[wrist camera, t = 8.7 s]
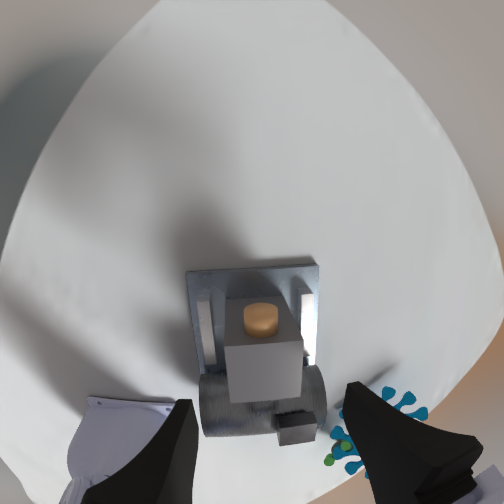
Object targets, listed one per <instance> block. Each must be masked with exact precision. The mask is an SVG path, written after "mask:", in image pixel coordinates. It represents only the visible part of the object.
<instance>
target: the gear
mask: <svg viewBox="0 0 504 504" xmlns="http://www.w3.org/2000/svg"><path fill="white" fill-rule="evenodd" d="M395 392H396V390H395V389H393V388H391V387H386V386H385V387H384V388H383V390H382V399H383V400H384V401H387V400H389V399H391V398H392V397H393V396H394V395H395ZM415 402H416V397H415V396H414V395H413V394H412V393H411V392H410V391H408V392H406V393H405V394H404V396H403V398H402V400H401V401H400V402H399V403H398V404H397V405H395V406H393V407H394V408H396V409H397V410H399V411H400V408H401V407H402V406H404V405H412V404H414V403H415ZM406 415H407V416H409V417H411V418H417V419H419V420H421V421H424V420H426V419H427V418H428V410H427V408H426V407H421V408H419V409H418V410H417V411H415V412H413V413H409V414H406ZM339 416H340V417H341V418H342V419H343V415H342V410H341V411H340V412H339ZM330 438H332V439H342V440H340V441H338V442H336V443H335V444H334V445H333V447H332V449H331V452H332V454H328V455H327V456H326V458H325V460H324V464H325V465H326V466H331V465H333V464H334V462H335V460H339V459H341V458H343V457H345V456H349V455H357V456H360V455H359V453H358V451H357V449H356V447H355V445H354V443H353V441H352V439H351V437H350V435H347V434H345V433H344V431H343V429H342V427H340V426H335V427H334V429H333V430H332V432H331V435H330ZM362 465H364V464H363V461H362V459H361V460H360V461H358V462H348V463H347V464H346V465H345V470H346V472H347V473H348V474H350V475H353V474H355V473H356V471H357V470H358V469H359V468H360V467H361V466H362ZM365 477H366V478H367V479H369V477H368V474H367V471H366V472H365Z"/></svg>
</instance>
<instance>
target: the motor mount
mask: <svg viewBox="0 0 504 504" xmlns="http://www.w3.org/2000/svg"><path fill="white" fill-rule="evenodd" d="M186 278H187V286H188V294H189V302H190V309H191V317H192V324H193V330H194V337H195V343H196V350H197V356H198V362H199V368H200V373H201V376H200V382H199V408H200V418H201V424H202V429H203V433H204V435H205V437H231V436H249V435H261V434H271V433H277V436H278V441H279V446H285V445H292V444H299V443H305V442H311V441H315V436H316V430H317V427H320V426H323V425H324V423H325V420H326V413H327V400H326V391H325V386H324V381H323V378H322V375H321V372H320V370H319V368H318V367H317V365H315V364H314V359H315V346H316V331H317V313H318V289H319V265H318V264H317V263H316V264H302V265H288V266H273V267H258V268H242V269H225V270H208V271H190V272H187V274H186ZM272 296H284V298H285V300H286V302H287V304H288V306H289V308H290V311H291V313H292V315H293V317H294V319H295V322H296V324H297V326H298V328H299V330H300V333H301V335H302V337H303V339H304V348H303V366H302V382H301V396H300V397H294V398H286V399H278V400H268V401H257V402H243V403H231V402H230V394H229V386H228V378H227V369H226V360H225V351H224V328H225V300H226V299H243V298H258V297H272Z"/></svg>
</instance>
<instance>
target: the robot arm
mask: <svg viewBox="0 0 504 504" xmlns="http://www.w3.org/2000/svg"><path fill="white" fill-rule="evenodd" d="M87 402H88V404H89V407H88V409H87V411H86V413H85V415H84V417H83V419H82V421H81V423H80V425H79V427H78V429H77V431H76V433H75V435H74V437H73V439H72V441H71V443H70V446H69V449H68V455H67V464H68V470H69V473H70V475H71V477H72V480H71V481H70V483H69V484H68V486H67V487H66V489H65V491H64V493H63V495H62V497H61V499H60V502H59V504H192V487H193V478H194V472H195V465H196V458H197V451H198V438H199V427H198V423H197V419H196V415H195V411H194V407H193V403H192V399H178V400H177V401H176V403H175V404H174V403H152V402H137V401H125V400H115V399H106V398H98V397H91V396H90V397H88V398H87ZM100 402H101V403H100ZM169 408H170V409H169ZM342 415H343V419H344V422H345V425H346V428H347V430H348V433H349V435H350V437H351V439H352V441H353V443H354V445H355V447H356V449H357V451H358V453H359V455H360V457H361V459H362V461H363V464H364V466H365V468H366V471H367V474H368V477H369V480H370V484H371V487H372V491H373V494H374V498H375V502H376V504H504V477H503V475H502V474H501V473H500V471H499V470H498V469H497V467H496V466H495V465H491V466H490V467H489V468H487V469H486V470H484V471H483V472H482V473H480V474H479V475H478V476H476V477H475V478H474V479H473V477H472V476H471V475H472V474H473V470H472V469H471V467H472V466H473V464H474V463H475V462H476V461H477V459H478V458H479V457H480V455H481V454H482V451H483V446H482V445H481V443H480V442H479V441H478V440H477V439H476V437H475V436H470V435H463V434H457V433H452V432H448V431H444V430H440V429H437V428H434V427H432V426H429V425H426V424H424V423H422V422H419V421H417V420H415V419H413V418H411V417H409V416H407V415H406V414H404V413H402V412H401V411H399V410H397V409H396V408H394V407H393V406H391V405H390V404H388V403H387V402H386V401H384V400H383V399H381V398H380V397H379V396H377V395H376V394H375V393H374V392H372V391H371V390H370V389H368V388H367V387H366V386H365V385H363V384H362V383H361V382H359V381H358V382H353V383H348V384H347V388H346V394H345V399H344V404H343V409H342Z"/></svg>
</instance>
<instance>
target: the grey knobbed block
mask: <svg viewBox="0 0 504 504" xmlns="http://www.w3.org/2000/svg"><path fill="white" fill-rule="evenodd" d="M303 348H304V339H303V337H302V335H301V333H300V330H299V328H298V326H297V324H296V322H295V319H294V317H293V315H292V313H291V311H290V308H289V306H288V304H287V302H286V300H285V298H284V296H272V297H258V298H243V299H226V300H225V328H224V351H225V360H226V369H227V378H228V386H229V394H230V402H231V403H243V402H257V401H268V400H278V399H286V398H294V397H300V396H301V382H302V366H303Z"/></svg>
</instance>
